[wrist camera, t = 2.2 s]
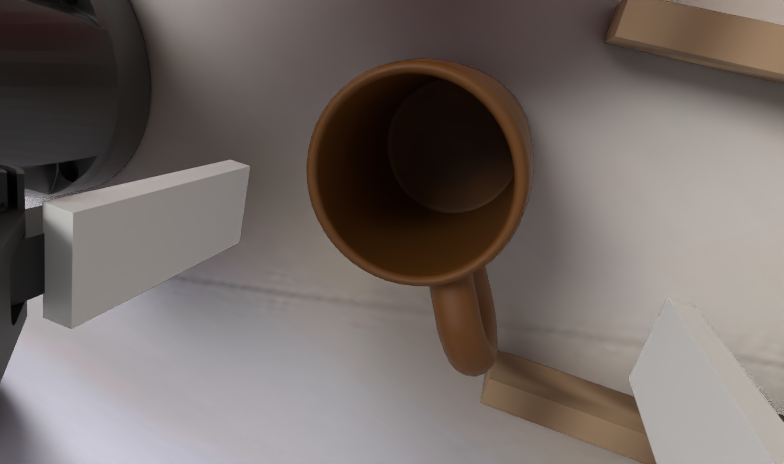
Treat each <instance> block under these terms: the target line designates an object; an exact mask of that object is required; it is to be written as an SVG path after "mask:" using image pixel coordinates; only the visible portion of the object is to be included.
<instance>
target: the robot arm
mask: <svg viewBox="0 0 784 464" xmlns="http://www.w3.org/2000/svg"><path fill="white" fill-rule="evenodd" d="M149 100H150V76H149V66H148V59H147V54H146V49H145V44H144V41H143V37H142V34H141V31H140V28H139V25H138V22H137V20H136V17H135V15H134V12H133V10H132V8H131V6H130V4H129V2H128V0H0V382H1V379H2V377H3V374H4V372H5V370H6V367H7V365H8V362H9V360H10V357H11V355H12V352H13V350H14V347H15V345H16V342H17V340H18V337H19V335H20V332H21V330H22V327H23V325H24V322H25V320H26V317H27V300H29V299H31V298H34V297H36V296H39V295H41V294H43V318H46V319H48V320H51V321H53V322H55V323H58V324H60V325H63V326H65V327H67V328H70V329H73V328H75V327H77V326H78V325H80V324H82V323H84V322H86V321H88V320H90V319H92V318H94V317H96V316H98V315H100V314H102V313H104V312H106V311H108V310H110V309H111V308H113V307H115V306H117V305H119V304H121V303H123V302H125V301H127V300H129V299H131V298H133V297H135V296H137V295H139V294H141V293H143V292H145V291H146V290H148V289H150V288H152V287H154V286H156V285H158V284H160V283H162V282H164V281H166V280H168V279H170V278H172V277H174V276H176V275H178V274H179V273H181V272H183V271H185V270H187V269H189V268H191V267H193V266H195V265H197V264H199V263H201V262H203V261H205V260H207V259H209V258H211V257H213V256H214V255H216V254H218V253H220V252H222V251H224V250H226V249H228V248H230V247H232V246H234V245H236V244H238V243H240V237H241V230H242V222H243V215H244V208H245V201H246V194H247V187H248V180H249V172H250V166H249V165H246V164H242V163H239V162H236V161H233V160H226V161H221V162H217V163H213V164H208V165H204V166H199V167H195V168H190V169H186V170H182V171H177V172H173V173H168V174H164V175H159V176H155V177H150V178H146V179H142V180H137V181H133V182H128V183H124V184H119V185H115V186H111V187H106V188H102V189H97V190H93V191H88V192H84V193H80V194H75V195H71V196H66V197H62V198H57V199H53V200H48V201H44V202H43V205H42V206H38V207H34V208H29V209H25V196H28V197H51V196H59V195H64V194H68V193H72V192H76V191H81V190H85V189H89V188H93V187H95V186H98V185H100V184H102V183H104V182H106V181H108V180H109V179H111V178H112V177H113V176H115V175H116V174H117V173H118V172H119V171H120V170H121V169H122V168H123V167H124V166H125V165H126V164H127V163H128V161H129V160H130V158H131V157H132V155H133V154H134V152H135V150H136V148H137V146H138V144H139V142H140V140H141V137H142V135H143V131H144V128H145V125H146V120H147V116H148V109H149ZM628 379H629V382H630V385H631V388H632V391H633V394H634V397H635V400H636V403H637V406H638V409H639V412H640V415H641V418H642V421H643V424H644V427H645V430H646V433H647V436H648V439H649V442H650V445H651V448H652V451H653V455H654V458H655V461H656V464H784V416H783V415H780V414H777V413H776V411H775V410H774V409H773V407H772V406H771V405H770V403H769V402H768V401H767V400H766V398H765V397H764V396H763V394H762V393H761V392H760V390H759V389H758V388H757V386H756V385H755V384H754V382H753V381H752V380H751V378H750V377H749V376H748V374H747V373H746V372H745V370H744V369H743V368H742V366H741V365H740V364H739V362H738V361H737V360H736V358H735V357H734V356H733V354H732V353H731V352H730V350H729V349H728V348H727V347H726V345H725V344H724V343H723V341H722V340H721V339H720V337H719V336H718V335H717V333H716V332H715V331H714V329H713V328H712V327H711V325H710V324H709V323H708V321H707V320H706V319H705V317H704V316H703V315H702V313H701V312H700V311H699V309H698V308H697V307H696V306H694V305H690V304H687V303H684V302H681V301H678V300H675V299H671V298H668V297H667V299H666V301H665V303H664V305H663V307H662V309H661V311H660V313H659V315H658V317H657V319H656V322H655V324H654V326H653V328H652V330H651V332H650V334H649V336H648V338H647V340H646V342H645V344H644V347H643V349H642V351H641V353H640V355H639V357H638V359H637V361H636V363H635V365H634V367H633V370H632V372H631V374H630V376H629V378H628Z"/></svg>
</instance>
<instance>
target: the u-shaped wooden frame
mask: <svg viewBox="0 0 784 464" xmlns="http://www.w3.org/2000/svg"><path fill="white" fill-rule="evenodd" d="M603 43H608V44H612V45H616V46H621V47H625V48H629V49H634V50H638V51H642V52H647V53H651V54H656V55H660V56H664V57H669V58H673V59H677V60H682V61H686V62H691V63H695V64H699V65H704V66H708V67H712V68H717V69H721V70H726V71H730V72H734V73H739V74H743V75H747V76H752V77H756V78H760V79H765V80H769V81H774V82H778V83H782V84H784V26H783V25H778V24H774V23H769V22H764V21H759V20H755V19H750V18H745V17H740V16H736V15H731V14H726V13H721V12H716V11H712V10H707V9H702V8H697V7H693V6H688V5H683V4H678V3H674V2H669V1H664V0H622V1H621V2H620V3H619V4H618V5H617V6H616V9H615V12H614V14H613V17H612V20H611V23H610V26H609V28H608V31H607V34H606V37H605V39H604V42H603ZM481 403H482V404H485V405H488V406H490V407H493V408H496V409H498V410H501V411H504V412H506V413H509V414H512V415H514V416H517V417H520V418H523V419H525V420H528V421H531V422H533V423H536V424H539V425H541V426H544V427H547V428H550V429H552V430H555V431H558V432H560V433H563V434H566V435H568V436H571V437H574V438H577V439H579V440H582V441H585V442H587V443H590V444H593V445H595V446H598V447H601V448H604V449H606V450H609V451H612V452H614V453H617V454H620V455H622V456H625V457H628V458H630V459H633V460H636V461H639V462H641V463H644V464H656V461H655V458H654V455H653V451H652V448H651V445H650V442H649V439H648V436H647V433H646V430H645V427H644V424H643V421H642V418H641V415H640V412H639V409H638V406H637V403H636V400H635V397H632V396H629V395H626V394H624V393H621V392H618V391H615V390H612V389H609V388H606V387H604V386H601V385H598V384H595V383H592V382H589V381H586V380H583V379H581V378H578V377H575V376H572V375H569V374H566V373H563V372H561V371H558V370H555V369H552V368H549V367H546V366H543V365H541V364H538V363H535V362H532V361H529V360H526V359H523V358H520V357H518V356H515V355H512V354H509V353H506V352H503V351H500V350H498V349H497V356H496V360H495V362H494V364H493V366H492V367H491V368H490V369H489V370H488V371H486V372H485V377H484V384H483V391H482V397H481Z"/></svg>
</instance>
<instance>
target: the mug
mask: <svg viewBox="0 0 784 464" xmlns="http://www.w3.org/2000/svg"><path fill="white" fill-rule="evenodd" d="M533 172H534V168H533V146H532V140H531V134H530V128H529V125H528V122H527V118H526V116H525V114H524V112H523V109H522V107H521V106H520V104H519V103H518V101H517V100H516V98H515V97H514V96H513V94H512V93H511V92H510V91H509V90H508V89H507V88H506V87H505V86H504V85H502V84H501V83H500V82H499V81H497V80H496V79H494V78H493V77H491V76H489V75H487V74H485V73H483V72H481V71H478V70H476V69H474V68H471V67H467V66H464V65H461V64H458V63H454V62H451V61H445V60H439V59H413V60H405V61H399V62H393V63H389V64H385V65H382V66H378V67H376V68H374V69H371V70H369V71H367V72H365V73H363V74H361V75H360V76H358V77H356V78H355V79H353V80H352V81H350V82H349V83H348V84H347V85H346V86H344V87H343V88H342V89H341V90H340V91H339V92H338V93H337V94H336V95H335V96H334V97H333V98H332V99H331V101H330V102H329V103H328V105H327V106H326V108H325V109H324V111H323V112H322V114H321V116H320V118H319V120H318V122H317V124H316V126H315V129H314V132H313V134H312V137H311V141H310V145H309V150H308V158H307V183H308V189H309V195H310V199H311V203H312V206H313V209H314V212H315V214H316V216H317V219H318V221H319V223H320V225H321V226H322V228H323V230H324V232H325V233H326V235H327V236H328V238H329V239H330V240H331V242H332V243H333V244H334V245H335V246H336V248H337V249H338V250H339V251H340V252H341V253H342V254H343V255H344V256H345V257H346V258H348V259H349V260H350V261H351V262H352V263H354V264H355V265H357V266H358V267H360V268H361V269H363V270H364V271H366V272H368V273H370V274H372V275H374V276H376V277H379V278H381V279H384V280H386V281H390V282H394V283H398V284H404V285H411V286H429V287H430V291H431V297H432V302H433V308H434V313H435V319H436V325H437V330H438V334H439V338H440V341H441V344H442V346H443V349H444V352H445V354H446V356H447V358H448V360H449V362H450V364H451V365H452V366H453V367H454V368H455V369H456V370H457V371H459V372H460V373H462V374H464V375H466V376H478V375H481V374H484V373H485V372H486V371H488V370H489V369H490V368H491V367H492V366H493V364H494V362H495V360H496V356H497V326H496V317H495V310H494V304H493V298H492V293H491V289H490V285H489V281H488V277H487V273H486V269H485V265H486V264H488V263H489V262H490V261H492V260H493V259H494V258H495V257H496V256H497V255H498V254H499V253H500V252H501V251H502V250H503V248H504V247H505V246H506V245H507V243H508V242H509V241H510V239H511V238H512V236H513V234H514V233H515V231H516V229H517V227H518V226H519V223H520V221H521V218H522V216H523V213H524V211H525V208H526V206H527V203H528V200H529V196H530V192H531V188H532V180H533Z"/></svg>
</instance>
